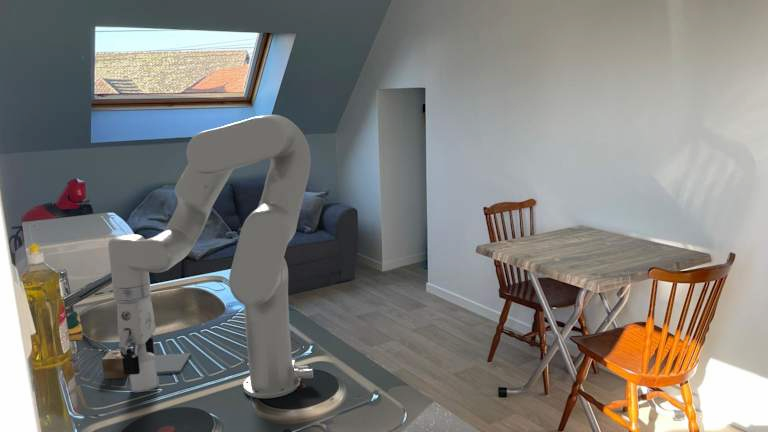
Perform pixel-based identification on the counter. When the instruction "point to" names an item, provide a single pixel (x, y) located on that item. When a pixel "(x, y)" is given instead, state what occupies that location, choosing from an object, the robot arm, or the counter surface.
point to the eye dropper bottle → (144, 372)
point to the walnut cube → (113, 365)
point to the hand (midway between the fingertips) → (139, 364)
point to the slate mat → (171, 363)
